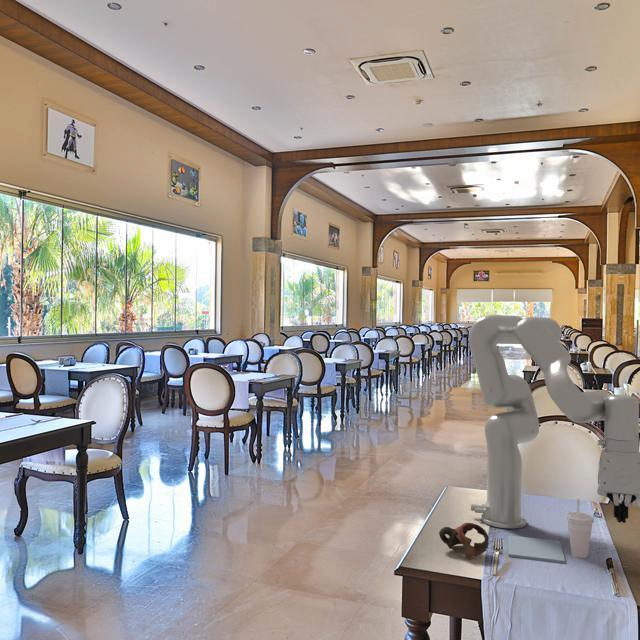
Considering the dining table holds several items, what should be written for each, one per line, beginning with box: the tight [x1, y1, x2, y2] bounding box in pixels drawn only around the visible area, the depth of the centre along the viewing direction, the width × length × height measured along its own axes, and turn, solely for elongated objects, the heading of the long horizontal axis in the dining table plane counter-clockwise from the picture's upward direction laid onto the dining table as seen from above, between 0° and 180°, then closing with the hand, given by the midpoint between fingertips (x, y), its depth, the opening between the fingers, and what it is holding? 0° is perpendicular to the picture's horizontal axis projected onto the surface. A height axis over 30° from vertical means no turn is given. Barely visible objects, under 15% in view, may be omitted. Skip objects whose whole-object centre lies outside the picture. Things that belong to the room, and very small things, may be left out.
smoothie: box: [566, 498, 595, 559], centre depth 151 cm, size 6×6×14 cm
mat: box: [507, 534, 566, 564], centre depth 154 cm, size 13×14×1 cm
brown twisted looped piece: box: [438, 522, 490, 560], centre depth 151 cm, size 12×10×8 cm
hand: (620, 520), depth 149 cm, fingers closed
